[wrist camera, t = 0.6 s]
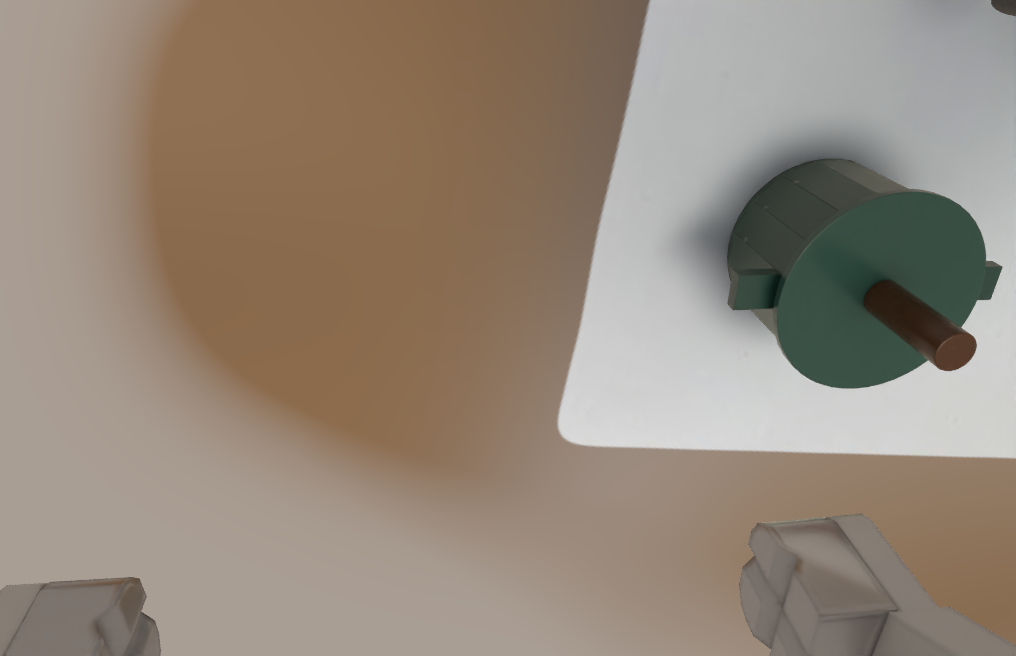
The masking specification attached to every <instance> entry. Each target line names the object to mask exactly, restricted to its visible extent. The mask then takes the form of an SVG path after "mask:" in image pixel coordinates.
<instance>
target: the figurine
mask: <svg viewBox="0 0 1016 656" xmlns="http://www.w3.org/2000/svg"><path fill="white" fill-rule="evenodd" d="M991 4H992V6H993V7H994V8H995V9H996V10H998V11H999V12H1002V13H1004V14H1008V15H1013V16H1016V0H991Z"/></svg>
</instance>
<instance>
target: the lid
mask: <svg viewBox="0 0 1016 656" xmlns="http://www.w3.org/2000/svg"><path fill="white" fill-rule="evenodd" d="M985 269H986V252H985V244H984V241H983V237H982V234H981V231H980V229H979V228H978V226H977V224H976V222H975V220H974V219H973V218H972V217H971V215H970V214H969V213H968V212H967V211H966V210H965V209H964V208H963V207H961V206H960V205H959V204H957V203H955V202H954V201H952V200H950V199H948V198H946V197H944V196H941V195H939V194H936V193H934V192H929V191H925V190H918V189H900V190H891V191H886V192H881V193H877V194H874V195H871V196H868V197H865V198H863V199H860V200H858V201H856V202H854V203H852V204H850V205H848V206H846V207H845V208H843V209H841V210H840V211H838V212H836V213H835V214H833V215H832V216H831V217H829V218H828V219H827V220H826V221H824V222H823V223H822V224H821V225H820V226H818V227H817V228H816V229H815V230H814V231H813V232H812V233H811V234H810V235H809V236H808V237H807V238H806V240H805V241H804V242H803V243H802V244H801V245H800V247H799V248H798V249H797V251H796V252H795V254H794V255H793V257H792V258H791V260H790V261H789V263H788V265H787V267H786V269H785V270H784V273H783V275H782V277H781V280H780V282H779V285H778V288H777V292H776V295H775V301H774V307H773V325H774V332H775V336H776V339H777V342H778V345H779V347H780V349H781V351H782V353H783V355H784V356H785V357H786V358H787V360H788V361H789V362H790V363H791V365H792V366H793V367H794V368H795V369H797V370H798V371H799V372H800V373H801V374H802V375H804V376H805V377H807V378H809V379H810V380H812V381H815V382H817V383H819V384H822V385H826V386H830V387H836V388H863V387H870V386H874V385H878V384H882V383H885V382H888V381H891V380H894V379H896V378H898V377H900V376H903V375H905V374H907V373H909V372H910V371H912V370H914V369H916V368H917V367H919V366H920V365H922V364H923V363H925V362H926V361H928V360H929V361H930V362H931V363H932V364H934V365H935V366H936V367H937V368H939V369H941V370H944V371H953V370H956V369H959V368H961V367H962V366H964V365H965V364H967V363H968V362H969V361H970V360H971V358H972V357H973V355H974V354H975V351H976V347H977V344H976V340H975V338H974V337H973V336H972V335H971V334H969V333H968V332H967V331H965V330H964V329H962V328H961V327H962V325H963V324H964V323H965V321H966V320H967V318H968V317H969V315H970V313H971V311H972V309H973V308H974V306H975V304H976V301H977V299H978V296H979V294H980V291H981V288H982V284H983V281H984V275H985Z"/></svg>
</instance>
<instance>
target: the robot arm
mask: <svg viewBox="0 0 1016 656" xmlns="http://www.w3.org/2000/svg"><path fill="white" fill-rule="evenodd" d="M748 545H749V546H750V548H751V550H752V552H753V554H754V557H753V558H752V559H751V560H749V561H748V562H747V563H746V564H745V565H744V566H743V568H742V573H741V579H740V583H739V586H740V597H741V605H742V609H743V612H744V615H745V618H746V621H747V623H748V626H749V628H750V630H751V632H752V634H753V636H754V637H755V638H757V639H758V640H759V641H761V642H762V643H763V644H765V645H766V646H767V647H769V648H770V649H771V652H770V656H1016V646H1015V645H1013V644H1012V643H1010V642H1009V641H1007V640H1005V639H1004V638H1002V637H1000V636H998V635H996V634H995V633H993V632H991V631H990V630H988V629H986V628H985V627H983V626H981V625H980V624H978V623H976V622H975V621H973V620H971V619H970V618H968V617H966V616H964V615H963V614H961V613H959V612H957V611H956V610H954V609H952V608H951V607H938V606H937V605H936V603H935V602H934V601H933V600H932V598H931V597H930V596H929V594H928V593H927V592H926V591H925V589H924V588H923V587H922V585H921V584H920V583H919V581H918V580H917V579H916V577H915V576H914V575H913V574H912V572H911V571H910V570H909V568H908V567H907V566H906V565H905V564H904V562H903V561H902V560H901V558H900V557H899V556H898V554H897V553H896V552H895V550H894V549H893V548H892V547H891V545H890V544H889V543H888V542H887V540H886V539H885V537H884V536H883V535H882V534H881V532H880V531H879V530H878V528H877V527H876V526H875V525H874V523H873V522H872V521H871V520H870V519H869V518H868V517H866V516H864V515H862V514H855V515H844V516H833V517H826V518H822V517H820V518H809V519H800V520H789V521H778V522H768V523H758V524H757V525H756V526H755V527H754V528H753V529H752V531H751V535H750V539H749V543H748ZM146 597H147V596H146V594H145V591H144V589H143V586H142V584H141V582H140V579H139V578H133V577H128V578H112V579H111V578H110V579H94V580H77V581H60V582H50V583H39V584H22V585H7V586H6V587H4V588H3V589H2V590H1V591H0V656H160V653H161V649H160V639H159V632H158V629H157V626H156V623H155V621H154V620H153V619H152V618H150V617H149V616H147V615H146V614H144V613H142V612H141V610H142V608H143V605H144V602H145V599H146Z"/></svg>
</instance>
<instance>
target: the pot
mask: <svg viewBox="0 0 1016 656" xmlns="http://www.w3.org/2000/svg"><path fill="white" fill-rule="evenodd" d="M900 189H908V188H906V187H904V186H902V185H900V184H898V183H896V182H894V181H892V180H890V179H888V178H886V177H884V176H882V175H880V174H878V173H876V172H874V171H872V170H870V169H867V168H865V167H863V166H861V165H859V164H857V163H855V162H853V161H846V160H841V159H822V160H816V161H811V162H807V163H804V164H801V165H798V166H795V167H793V168H791V169H789V170H787V171H785V172H783V173H782V174H780V175H778V176H777V177H775V178H774V179H772V180H771V181H770V182H769V183H767V184H766V185H765V186H764V187H763V188H762V189H761V190H759V191H758V192H757V193H756V194H755V196H754V197H753V198H752V199H751V200H750V202H749V203H748V204H747V205H746V207H745V208H744V210H743V211H742V213H741V215H740V216H739V218H738V220H737V222H736V224H735V227H734V229H733V232H732V235H731V239H730V243H729V248H728V271H729V277H730V280H731V286H730V292H729V297H728V305H729V306H730V307H731V308H732V309H733V310H751V311H752V312H753V313H754V314H755V315H756V316H757V317H758V318H759V320H760V321H761V322H762V323H763V324H764V325H765V326H766V327H767V328H768V329H769V330H770V331H771V332H772V333H773V334H774V335H775V332H774V325H773V307H774V301H775V295H776V292H777V288H778V285H779V282H780V280H781V277H782V275H783V273H784V270H785V269H786V267H787V265H788V263H789V261H790V260H791V258H792V257H793V255H794V254H795V252H796V251H797V249H798V248H799V247H800V245H801V244H802V243H803V242H804V241H805V240H806V238H807V237H808V236H809V235H810V234H811V233H812V232H813V231H814V230H815V229H816V228H817V227H818V226H820V225H821V224H822V223H823V222H824V221H826V220H827V219H828V218H829V217H831V216H832V215H833V214H835V213H836V212H838V211H840V210H841V209H843V208H845V207H846V206H848V205H850V204H852V203H854V202H856V201H858V200H860V199H863V198H865V197H868V196H871V195H874V194H877V193H881V192H886V191H891V190H900ZM1001 270H1002V266H1000V265H998V264H997V263H995V262H993V261H986V269H985V275H984V281H983V284H982V288H981V291H980V294H979V296H978V299H977V300H990V299H991V297H992V294H993V292H994V289H995V286H996V283H997V281H998V278H999V275H1000V273H1001ZM775 337H776V336H775Z"/></svg>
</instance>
